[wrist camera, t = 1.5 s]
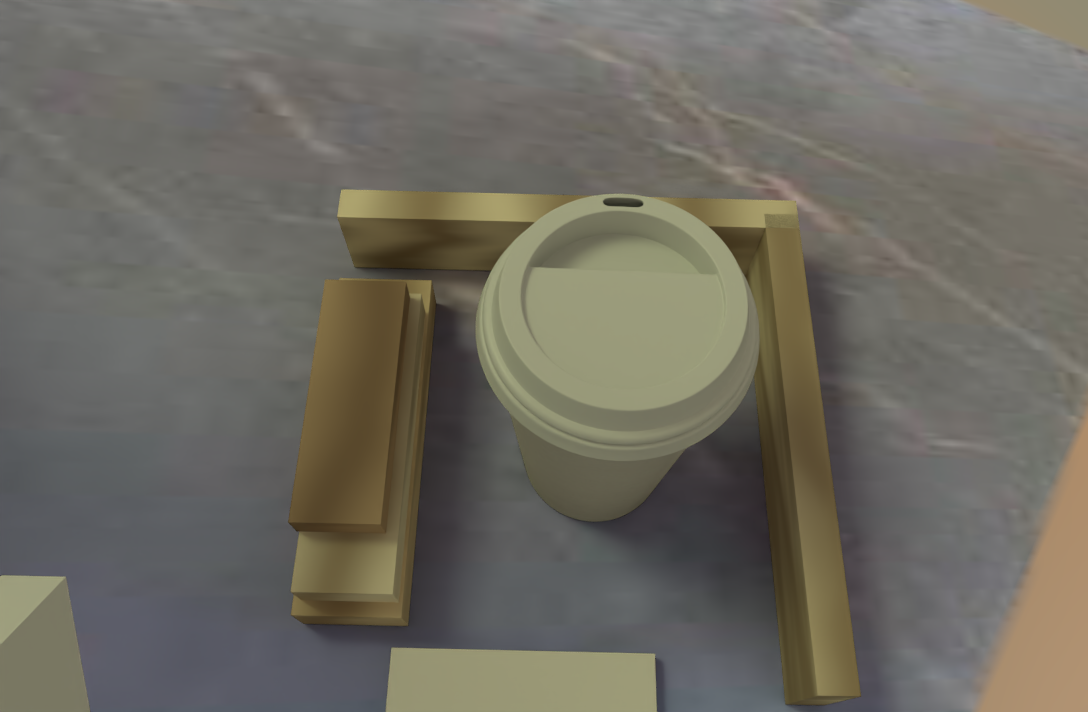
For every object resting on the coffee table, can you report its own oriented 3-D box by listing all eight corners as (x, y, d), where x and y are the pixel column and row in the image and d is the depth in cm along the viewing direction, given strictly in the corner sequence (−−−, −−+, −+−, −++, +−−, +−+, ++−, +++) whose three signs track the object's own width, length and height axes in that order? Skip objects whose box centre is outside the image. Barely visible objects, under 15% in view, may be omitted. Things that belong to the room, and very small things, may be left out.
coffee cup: (721, 408, 42) (813, 233, 28) (650, 591, 38) (715, 489, 24) (542, 335, 43) (548, 136, 30) (456, 502, 40) (417, 361, 26)
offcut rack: (296, 693, 36) (266, 682, 32) (358, 241, 46) (341, 189, 42) (823, 705, 36) (861, 696, 32) (772, 251, 46) (795, 200, 42)
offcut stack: (303, 623, 37) (269, 600, 32) (348, 300, 44) (325, 241, 39) (408, 626, 37) (389, 603, 32) (435, 302, 44) (424, 244, 39)
